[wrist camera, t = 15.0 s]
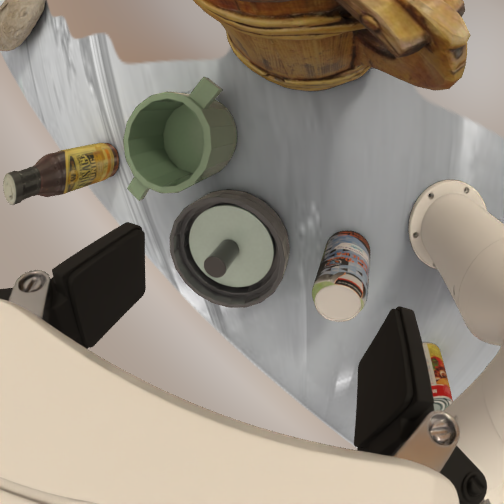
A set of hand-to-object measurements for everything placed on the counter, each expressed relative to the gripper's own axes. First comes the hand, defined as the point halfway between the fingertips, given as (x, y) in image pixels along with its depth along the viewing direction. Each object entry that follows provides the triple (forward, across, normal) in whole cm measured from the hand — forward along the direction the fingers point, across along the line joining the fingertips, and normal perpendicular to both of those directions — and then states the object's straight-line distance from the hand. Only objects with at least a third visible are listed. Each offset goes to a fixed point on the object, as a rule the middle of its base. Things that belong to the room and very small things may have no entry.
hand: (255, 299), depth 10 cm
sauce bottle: (+28, +32, +5) cm, 43 cm away
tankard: (+28, +3, -17) cm, 33 cm away
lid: (+27, +8, +13) cm, 31 cm away
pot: (+28, +16, -1) cm, 32 cm away
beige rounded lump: (+28, +66, -28) cm, 77 cm away
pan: (+28, +8, +13) cm, 32 cm away
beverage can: (+28, -7, +10) cm, 31 cm away
